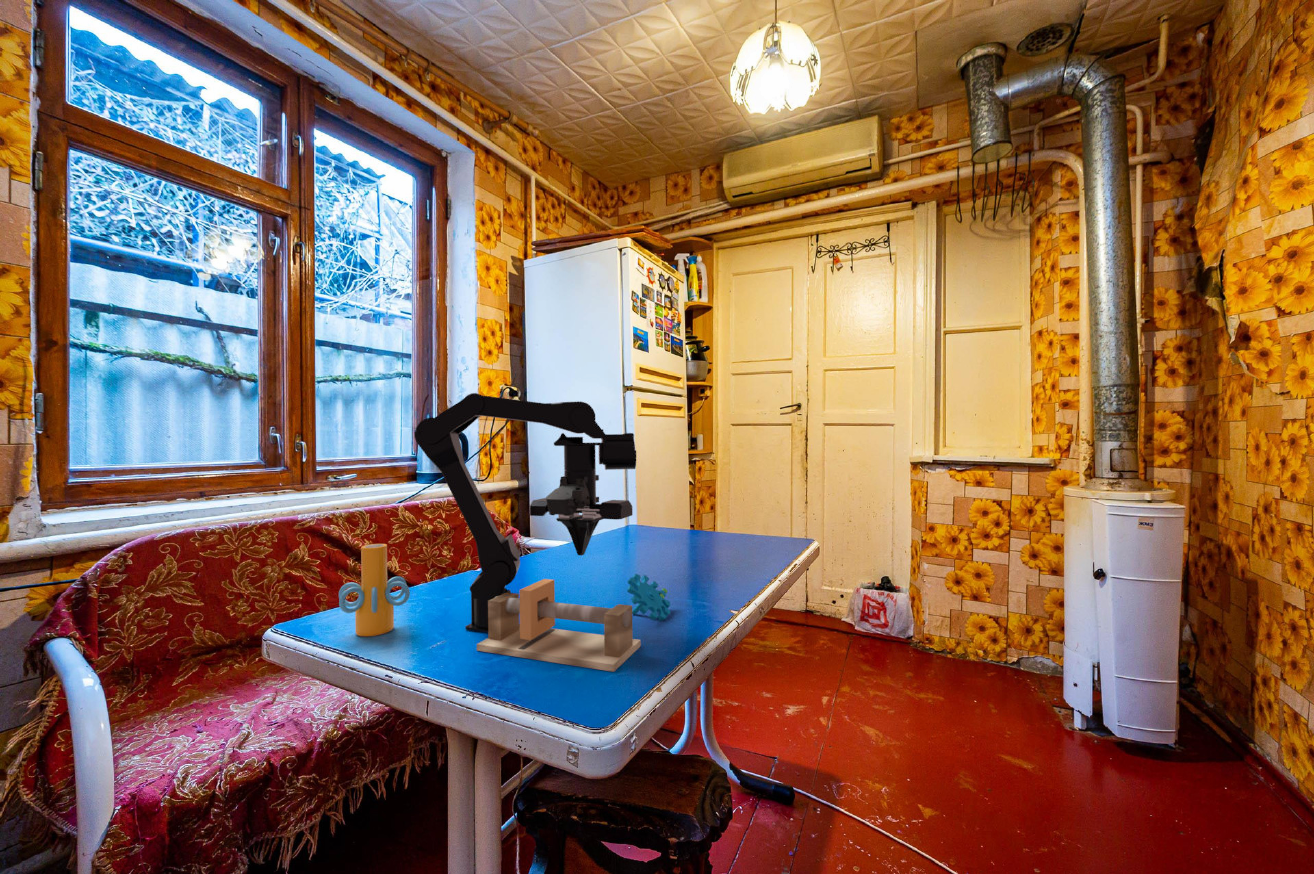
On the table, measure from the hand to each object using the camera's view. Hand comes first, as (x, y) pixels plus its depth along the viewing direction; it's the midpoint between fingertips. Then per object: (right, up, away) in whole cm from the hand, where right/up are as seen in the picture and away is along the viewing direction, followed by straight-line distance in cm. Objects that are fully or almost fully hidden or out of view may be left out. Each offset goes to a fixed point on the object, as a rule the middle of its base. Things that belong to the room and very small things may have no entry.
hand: (581, 555), depth 98 cm
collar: (-5, -10, -12) cm, 16 cm away
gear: (+13, -12, +2) cm, 18 cm away
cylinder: (-36, -13, -4) cm, 38 cm away
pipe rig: (-2, -12, -13) cm, 18 cm away
